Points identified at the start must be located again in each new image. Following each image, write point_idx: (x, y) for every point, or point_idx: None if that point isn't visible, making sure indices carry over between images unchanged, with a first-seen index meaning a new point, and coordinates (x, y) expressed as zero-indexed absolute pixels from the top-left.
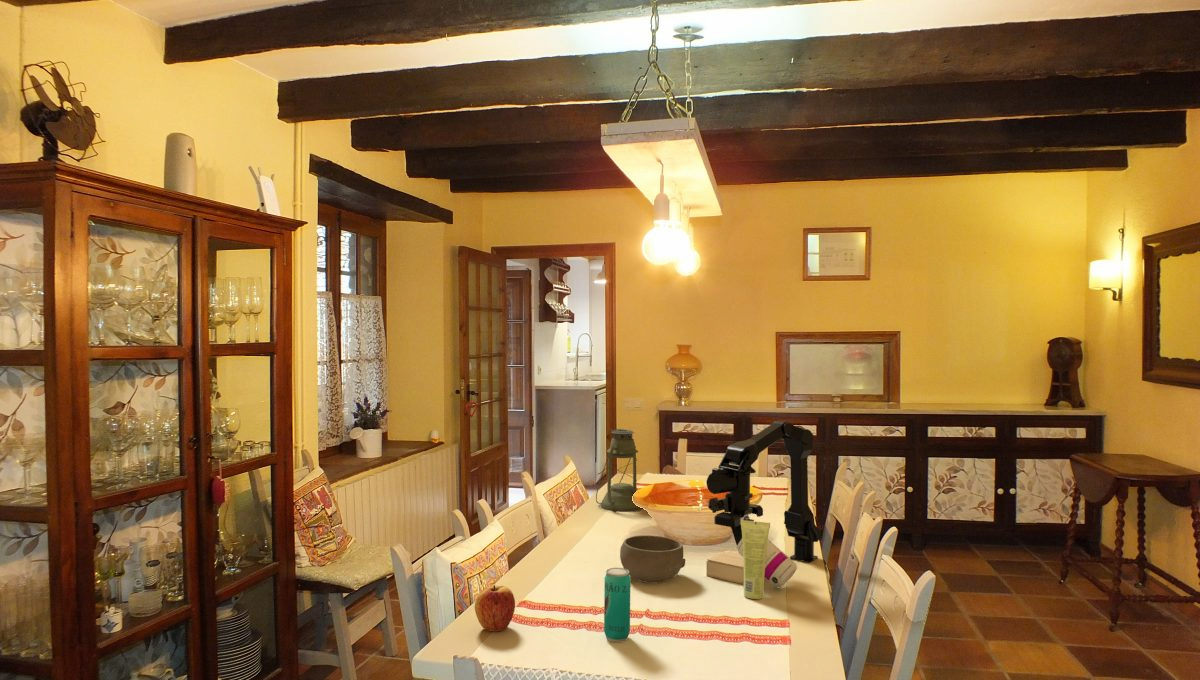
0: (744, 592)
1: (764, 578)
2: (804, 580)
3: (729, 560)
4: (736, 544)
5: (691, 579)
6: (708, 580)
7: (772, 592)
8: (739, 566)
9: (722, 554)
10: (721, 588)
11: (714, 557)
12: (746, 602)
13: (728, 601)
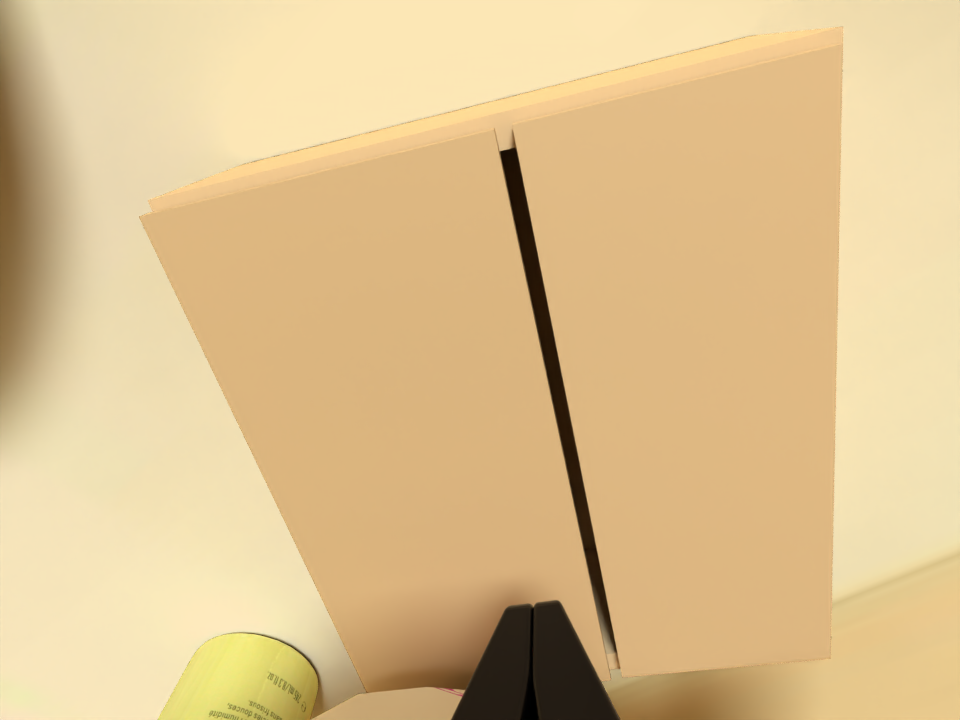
0: (182, 674)
1: None
2: (823, 708)
3: (386, 437)
4: (501, 618)
5: (22, 142)
6: None
7: None
8: (326, 608)
9: (541, 182)
10: (156, 473)
11: (301, 221)
12: (149, 691)
13: (51, 630)
